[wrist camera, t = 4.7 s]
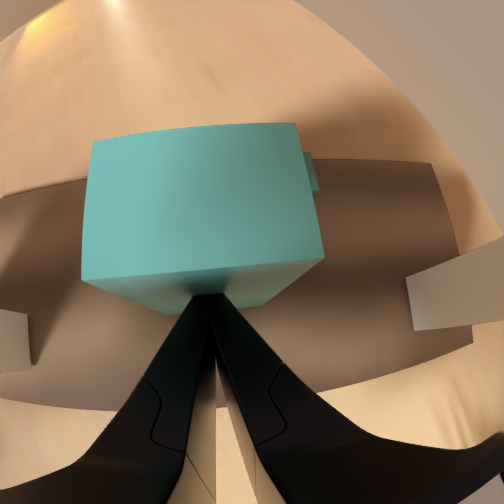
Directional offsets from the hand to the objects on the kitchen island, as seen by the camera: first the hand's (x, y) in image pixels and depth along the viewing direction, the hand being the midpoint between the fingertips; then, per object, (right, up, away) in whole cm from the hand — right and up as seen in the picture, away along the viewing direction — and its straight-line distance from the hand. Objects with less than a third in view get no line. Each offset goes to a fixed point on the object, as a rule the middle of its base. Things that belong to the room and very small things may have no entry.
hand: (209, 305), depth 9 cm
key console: (-1, 0, +7) cm, 7 cm away
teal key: (-1, 0, +5) cm, 6 cm away
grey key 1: (+12, -1, +6) cm, 14 cm away
